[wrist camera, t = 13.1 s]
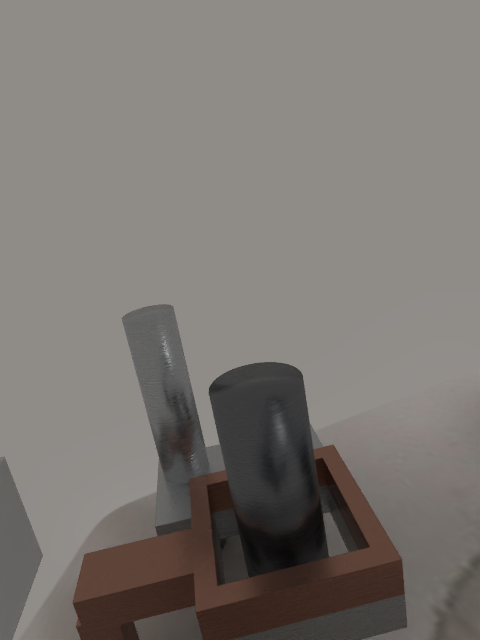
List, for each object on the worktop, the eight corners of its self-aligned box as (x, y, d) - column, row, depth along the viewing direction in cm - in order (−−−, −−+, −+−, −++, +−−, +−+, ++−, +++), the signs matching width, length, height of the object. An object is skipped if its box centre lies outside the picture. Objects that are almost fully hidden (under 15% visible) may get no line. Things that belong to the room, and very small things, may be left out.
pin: (325, 590, 28) (289, 355, 24) (351, 661, 24) (314, 393, 19) (256, 608, 28) (205, 373, 23) (271, 683, 24) (212, 416, 19)
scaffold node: (320, 494, 37) (289, 276, 31) (412, 694, 22) (385, 358, 17) (126, 541, 35) (58, 323, 30) (94, 783, 21) (-49, 453, 16)
